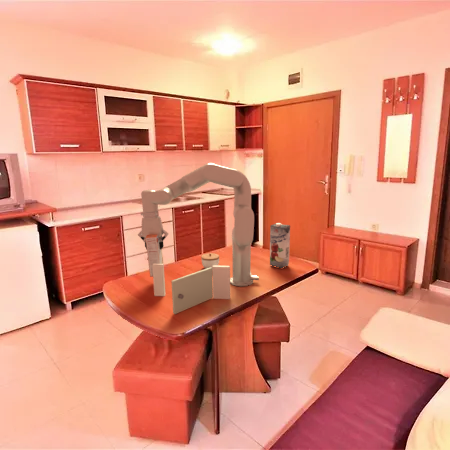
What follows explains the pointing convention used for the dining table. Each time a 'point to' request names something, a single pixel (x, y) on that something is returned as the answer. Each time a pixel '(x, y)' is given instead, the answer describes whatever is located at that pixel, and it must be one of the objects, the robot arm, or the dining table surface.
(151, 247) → the cracker box
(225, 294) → the door frame
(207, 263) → the lidded jar
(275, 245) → the juice carton
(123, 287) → the dining table surface
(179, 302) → the door
